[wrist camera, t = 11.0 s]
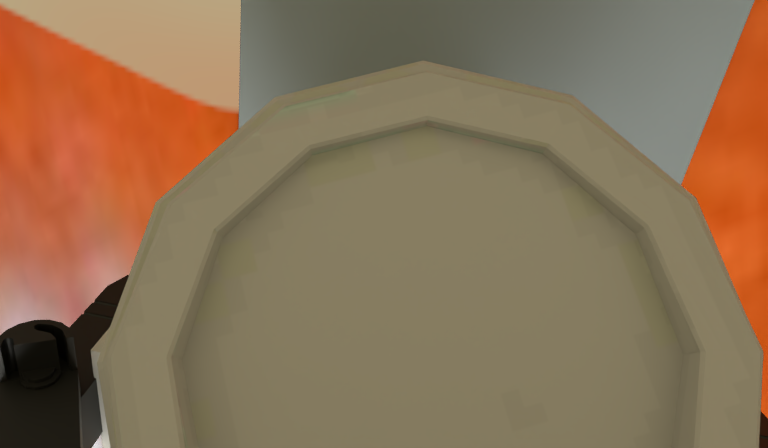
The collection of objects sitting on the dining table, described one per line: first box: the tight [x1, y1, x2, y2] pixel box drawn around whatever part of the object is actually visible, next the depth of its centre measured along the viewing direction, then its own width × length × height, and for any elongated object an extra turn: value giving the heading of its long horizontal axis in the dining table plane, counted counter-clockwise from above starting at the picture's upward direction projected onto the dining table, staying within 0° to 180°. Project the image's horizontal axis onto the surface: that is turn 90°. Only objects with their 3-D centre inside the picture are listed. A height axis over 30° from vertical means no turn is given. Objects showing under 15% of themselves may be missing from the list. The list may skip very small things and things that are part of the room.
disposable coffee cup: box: [97, 61, 763, 448], centre depth 16 cm, size 11×11×15 cm
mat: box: [239, 0, 754, 185], centre depth 22 cm, size 16×21×1 cm
